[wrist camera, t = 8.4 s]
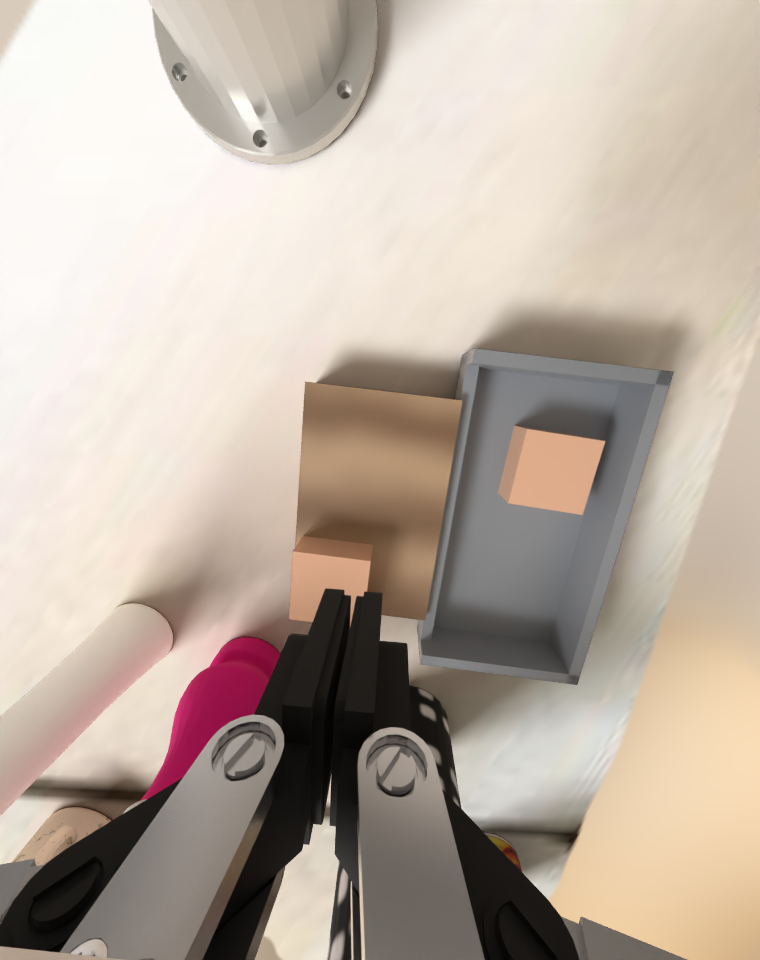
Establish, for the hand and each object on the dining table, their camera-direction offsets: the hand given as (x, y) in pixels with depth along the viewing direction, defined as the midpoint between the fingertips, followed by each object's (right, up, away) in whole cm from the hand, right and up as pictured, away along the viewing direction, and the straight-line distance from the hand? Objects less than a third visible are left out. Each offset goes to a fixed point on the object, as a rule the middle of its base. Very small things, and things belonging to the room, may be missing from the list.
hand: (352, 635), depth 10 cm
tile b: (-2, -2, +15) cm, 16 cm away
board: (0, +3, +17) cm, 17 cm away
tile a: (+12, +5, +13) cm, 18 cm away
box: (+11, +2, +17) cm, 20 cm away
